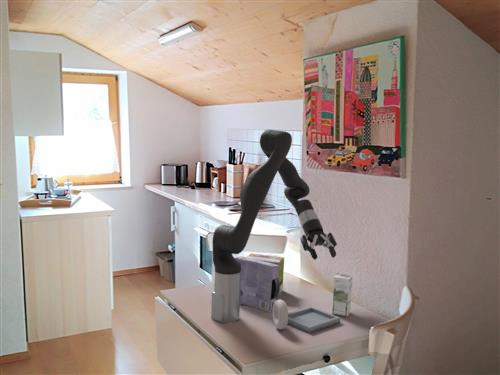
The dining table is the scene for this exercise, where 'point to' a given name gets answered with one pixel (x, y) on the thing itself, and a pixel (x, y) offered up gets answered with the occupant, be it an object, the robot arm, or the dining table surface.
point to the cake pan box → (258, 283)
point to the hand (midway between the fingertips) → (325, 257)
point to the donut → (280, 314)
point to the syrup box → (342, 294)
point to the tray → (311, 319)
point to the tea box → (272, 260)
